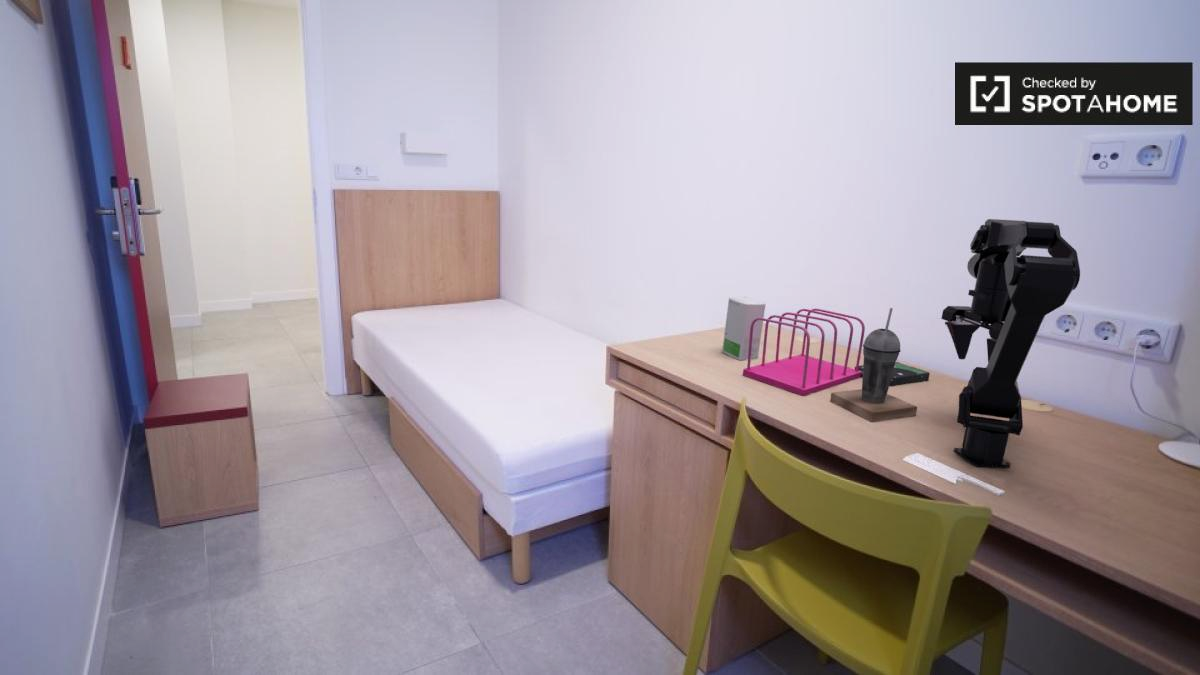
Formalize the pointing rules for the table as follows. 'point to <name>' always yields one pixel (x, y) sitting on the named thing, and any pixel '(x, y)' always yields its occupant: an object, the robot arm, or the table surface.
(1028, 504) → the table surface
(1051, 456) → the table surface
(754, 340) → the skincare box
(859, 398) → the walnut plinth
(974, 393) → the robot arm
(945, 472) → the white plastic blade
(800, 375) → the file sorter
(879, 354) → the beverage cup
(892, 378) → the disk drive
